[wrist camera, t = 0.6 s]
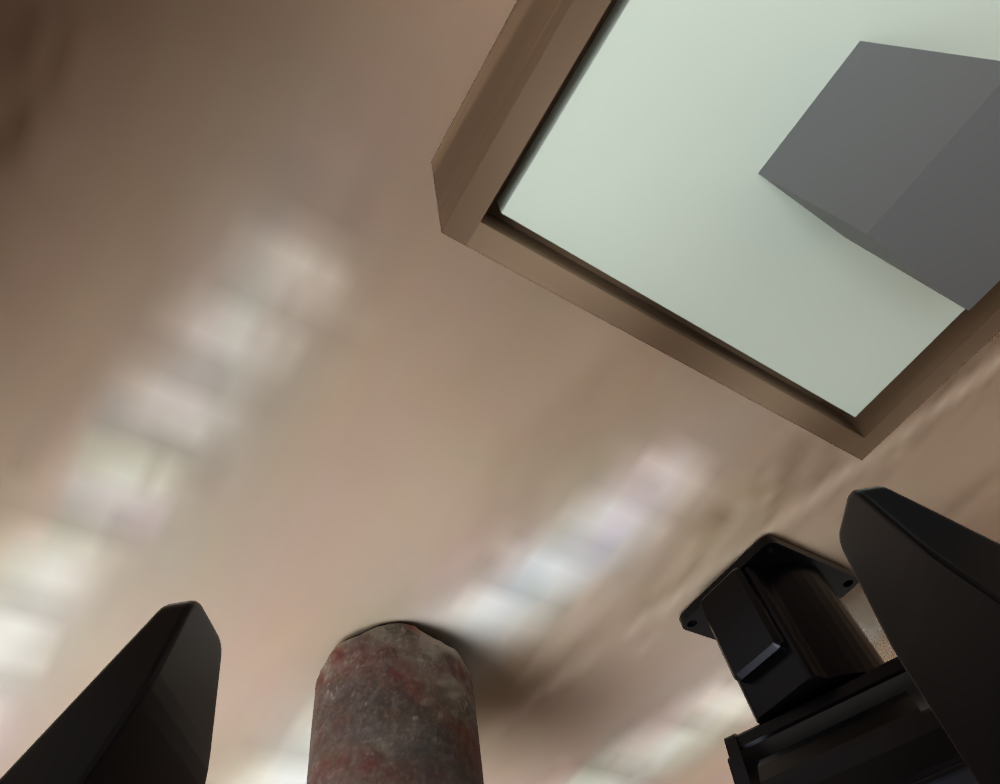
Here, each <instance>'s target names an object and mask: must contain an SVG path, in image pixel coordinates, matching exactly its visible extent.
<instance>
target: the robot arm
mask: <svg viewBox="0 0 1000 784" xmlns="http://www.w3.org/2000/svg"><path fill="white" fill-rule="evenodd" d="M839 536H840V543H841V546H842V549H843V551H844V553H845V555H846V557H847V559H848V561H849V563H850V565H851V567H852V569H853V571H854V573H855V574H854V573H853V572H852V571H851V570H848V569H846V568H844V567H841V566H839V565H837V564H835V563H832V562H830V561H828V560H825V559H823V558H821V557H818V556H816V555H814V554H812V553H809V552H807V551H805V550H802V549H800V548H798V547H796V546H793V545H791V544H789V543H786V542H784V541H782V540H780V539H777V538H775V537H772V536H768V537H764V538H762V539H760V540H759V541H758V542H757V543H756V544H755V545H754V546H753V547H752V548H750V549H749V550H748V551H747V552H746V553H745V554H744V555H743V556H742V557H741V558H740V559H739V560H738V561H737V562H736V563H735V564H734V565H733V566H732V567H731V568H730V569H729V570H727V571H726V572H725V573H724V574H723V575H722V576H721V577H720V578H719V579H718V580H717V581H716V582H715V583H714V584H713V585H712V586H711V587H710V588H709V589H708V590H707V591H706V592H704V593H703V594H702V595H701V596H700V597H699V598H698V599H697V600H696V601H695V602H694V603H693V604H692V605H691V606H690V607H689V608H688V609H687V610H686V611H685V612H684V613H683V614H682V615H681V616H680V618H679V620H680V622H681V625H682V627H683V629H685V630H688V631H691V632H694V633H697V634H700V635H703V636H706V637H709V638H712V639H715V640H716V641H717V643H718V645H719V647H720V649H721V652H722V654H723V656H724V658H725V660H726V662H727V664H728V666H729V669H730V671H731V673H732V675H733V677H734V678H735V680H737V681H738V683H739V685H740V688H741V690H742V692H743V694H744V696H745V698H746V700H747V702H748V704H749V707H750V709H751V711H752V713H753V715H754V717H755V719H756V721H757V723H759V725H757V726H755V727H753V728H751V729H749V730H747V731H745V732H743V733H741V734H738V735H737V734H733V735H731V736H729V737H727V738H725V739H724V741H725V745H726V748H727V751H728V755H729V758H728V763H729V766H730V770H731V773H732V777H733V780H734V783H735V784H1000V544H999V543H997V542H995V541H993V540H991V539H989V538H987V537H985V536H983V535H981V534H978V533H976V532H974V531H972V530H970V529H968V528H966V527H964V526H962V525H960V524H958V523H956V522H954V521H952V520H950V519H948V518H946V517H944V516H942V515H940V514H938V513H936V512H934V511H932V510H930V509H928V508H926V507H924V506H922V505H920V504H918V503H916V502H914V501H912V500H910V499H908V498H906V497H904V496H902V495H900V494H898V493H896V492H894V491H892V490H890V489H887V488H885V487H871V488H865V489H859V490H855V491H852V493H851V494H850V495H849V496H848V499H847V503H846V507H845V511H844V515H843V519H842V523H841V527H840V533H839ZM855 575H856V576H855ZM858 581H859V583H860V585H861V587H862V589H863V591H864V593H865V595H866V597H867V599H868V601H869V603H870V605H871V607H872V609H873V611H874V613H875V615H876V617H877V619H878V621H879V623H880V625H881V627H882V629H883V631H884V633H885V635H886V637H887V638H888V640H889V642H890V644H891V646H892V648H893V650H894V651H895V653H896V654H897V656H898V657H896V658H894V659H892V660H890V661H888V662H886V663H885V662H884V661H883V660H882V658H881V657H880V655H879V654H878V652H877V651H876V650H875V648H874V647H873V645H872V644H871V642H870V641H869V640H868V638H867V637H866V635H865V634H864V632H863V631H862V629H861V628H860V627H859V625H858V624H857V622H856V621H855V619H854V618H853V617H852V615H851V614H850V612H849V611H848V609H847V608H846V607H845V605H844V604H843V602H842V601H841V599H840V598H841V597H843V596H844V595H845V594H846V593H847V592H849V591H850V590H851V589H852V588H853V587H855V585H856V584H857V583H858ZM220 662H221V643H220V639H219V637H218V634H217V633H216V631H215V629H214V627H213V625H212V624H211V622H210V620H209V618H208V616H207V615H206V613H205V611H204V609H203V607H202V606H201V605H200V603H198V602H196V601H186V602H180V603H174V604H168V605H166V606H164V607H162V608H161V609H160V610H159V611H158V612H157V613H156V614H155V615H154V616H153V617H152V618H151V619H150V620H149V621H148V622H147V623H146V625H145V626H144V627H143V628H142V629H141V630H140V631H139V632H138V633H137V634H136V635H135V636H134V637H133V638H132V639H131V640H130V642H129V643H128V644H127V645H126V646H125V647H124V648H123V649H122V650H121V651H120V652H119V653H118V654H117V655H116V656H115V658H114V659H113V660H112V661H111V662H110V663H109V664H108V665H107V666H106V667H105V668H104V669H103V670H102V671H101V672H100V673H99V675H98V676H97V677H96V678H95V679H94V680H93V681H92V682H91V683H90V684H89V685H88V686H87V687H86V688H85V689H84V690H83V692H82V693H81V694H80V695H79V696H78V697H77V698H76V699H75V700H74V701H73V702H72V703H71V704H70V705H69V706H68V707H67V709H66V710H65V711H64V712H63V713H62V714H61V715H60V716H59V717H58V718H57V719H56V720H55V721H54V722H53V723H52V724H51V726H50V727H49V728H48V729H47V730H46V731H45V732H44V733H43V734H42V735H41V736H40V737H39V738H38V739H37V740H36V741H35V743H34V744H33V745H32V746H31V747H30V748H29V749H28V750H27V751H26V752H25V753H24V754H23V755H22V756H21V757H20V758H19V760H18V761H17V762H16V763H15V764H14V765H13V766H12V767H11V768H10V769H9V770H8V771H7V772H6V773H5V774H4V775H3V777H2V778H1V779H0V784H205V782H206V777H207V772H208V765H209V758H210V751H211V742H212V733H213V725H214V716H215V707H216V698H217V689H218V680H219V671H220Z"/></svg>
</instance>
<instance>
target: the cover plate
mask: <svg viewBox="0 0 1000 784" xmlns="http://www.w3.org/2000/svg"><path fill="white" fill-rule="evenodd" d="M497 204H498V206H499V209H500V211H501V213H502V214H504V215H506V216H507V217H509V218H511V219H513V220H514V221H516V222H518V223H520V224H521V225H523V226H525V227H526V228H528V229H530V230H532V231H533V232H535V233H537V234H539V235H540V236H542V237H544V238H545V239H547V240H549V241H551V242H552V243H554V244H556V245H558V246H559V247H561V248H563V249H565V250H566V251H568V252H570V253H571V254H573V255H575V256H577V257H578V258H580V259H582V260H584V261H585V262H587V263H589V264H591V265H592V266H594V267H596V268H597V269H599V270H601V271H603V272H604V273H606V274H608V275H610V276H611V277H613V278H615V279H616V280H618V281H620V282H622V283H623V284H625V285H627V286H629V287H630V288H632V289H634V290H636V291H637V292H639V293H641V294H642V295H644V296H646V297H648V298H649V299H651V300H653V301H655V302H656V303H658V304H660V305H662V306H663V307H665V308H667V309H668V310H670V311H672V312H674V313H675V314H677V315H679V316H681V317H682V318H684V319H686V320H687V321H689V322H691V323H693V324H694V325H696V326H698V327H700V328H701V329H703V330H705V331H707V332H708V333H710V334H712V335H713V336H715V337H717V338H719V339H720V340H722V341H724V342H726V343H727V344H729V345H731V346H733V347H734V348H736V349H738V350H739V351H741V352H743V353H745V354H746V355H748V356H750V357H752V358H753V359H755V360H757V361H759V362H760V363H762V364H764V365H765V366H767V367H769V368H771V369H772V370H774V371H776V372H778V373H779V374H781V375H783V376H784V377H786V378H788V379H790V380H791V381H793V382H795V383H797V384H798V385H800V386H802V387H804V388H805V389H807V390H809V391H810V392H812V393H814V394H816V395H817V396H819V397H821V398H823V399H824V400H826V401H828V402H830V403H831V404H833V405H835V406H836V407H838V408H840V409H842V410H843V411H845V412H847V413H849V414H850V415H852V416H854V417H856V416H857V415H858V414H859V413H860V412H861V411H862V410H863V409H864V408H865V407H866V406H867V405H868V404H869V403H870V402H871V401H872V400H873V399H874V398H875V397H876V396H877V395H878V394H879V393H880V392H881V391H882V390H883V389H884V388H885V387H886V386H887V385H888V384H889V383H890V382H891V381H892V380H893V379H894V378H895V377H897V376H898V375H899V374H900V373H901V372H902V371H903V370H904V369H905V368H906V367H907V366H908V365H909V364H910V363H911V362H912V361H913V360H914V359H915V358H916V357H917V356H918V355H919V354H920V353H921V352H922V351H923V350H924V349H925V348H926V347H927V346H928V345H929V344H930V343H931V342H932V341H933V340H934V339H935V338H936V337H937V336H938V335H939V334H940V333H941V332H942V331H943V330H944V329H945V328H946V327H947V326H948V325H949V324H950V323H951V322H952V321H953V320H954V319H956V318H957V317H958V316H959V315H960V314H961V313H962V312H963V311H964V310H965V309H966V310H968V311H969V310H970V309H971V308H972V307H973V306H974V305H975V304H976V303H977V302H978V301H979V300H980V299H981V298H982V297H983V296H984V295H985V294H986V293H987V292H988V291H990V290H991V289H992V288H993V287H994V286H995V285H996V284H997V283H998V282H999V281H1000V0H617V2H616V3H615V5H614V7H613V8H612V10H611V12H610V13H609V15H608V17H607V18H606V20H605V22H604V23H603V25H602V27H601V28H600V30H599V32H598V33H597V35H596V37H595V38H594V40H593V42H592V43H591V45H590V47H589V48H588V50H587V52H586V54H585V55H584V57H583V59H582V60H581V62H580V64H579V65H578V67H577V69H576V70H575V72H574V74H573V75H572V77H571V79H570V80H569V82H568V84H567V85H566V87H565V89H564V90H563V92H562V94H561V95H560V97H559V99H558V100H557V102H556V104H555V106H554V107H553V109H552V111H551V112H550V114H549V116H548V117H547V119H546V121H545V122H544V124H543V126H542V127H541V129H540V131H539V132H538V134H537V136H536V137H535V139H534V141H533V142H532V144H531V146H530V147H529V149H528V151H527V153H526V154H525V156H524V158H523V159H522V161H521V163H520V164H519V166H518V168H517V169H516V171H515V173H514V174H513V176H512V178H511V179H510V181H509V183H508V184H507V186H506V188H505V189H504V191H503V193H502V194H501V196H500V198H499V199H498V201H497Z"/></svg>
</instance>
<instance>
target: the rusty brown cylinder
mask: <svg viewBox="0 0 1000 784" xmlns="http://www.w3.org/2000/svg"><path fill="white" fill-rule="evenodd" d="M307 784H484V782H483V772H482V763H481V754H480V744H479V735H478V726H477V719H476V711H475V703H474V695H473V688H472V680H471V675H470V673H469V671H468V669H467V667H466V665H465V664H464V662H463V660H462V658H461V657H460V655H459V654H458V652H457V651H456V650H455V649H453V648H452V647H449V646H447V645H445V644H444V643H443V642H441V641H439V640H436V639H434V638H432V637H431V636H429V635H427V634H425V633H424V632H422V631H420V630H419V629H418V628H417V627H416V626H413V625H408V624H402V623H394V624H387V625H384V626H378V627H375V628H373V629H371V630H369V631H365V632H364V633H363V634H361V635H359V636H356V637H353V638H351V639H348V640H346V641H344V642H342V643H340V644H339V645H337V646H336V648H335V649H334V650H333V651H332V653H331V654H330V656H329V658H328V660H327V662H326V663H325V665H324V667H323V668H322V669H321V671H320V674H319V677H318V679H317V682H316V688H315V701H314V710H313V719H312V729H311V740H310V753H309V764H308V775H307Z"/></svg>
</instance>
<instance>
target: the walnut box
mask: <svg viewBox="0 0 1000 784" xmlns="http://www.w3.org/2000/svg"><path fill="white" fill-rule="evenodd" d="M616 2H617V0H517V2H516V4H515V6H514V8H513V10H512V11H511V13H510V15H509V17H508V19H507V21H506V23H505V25H504V26H503V28H502V30H501V32H500V34H499V36H498V38H497V40H496V41H495V43H494V45H493V47H492V49H491V51H490V53H489V55H488V56H487V58H486V60H485V62H484V64H483V66H482V68H481V70H480V72H479V73H478V75H477V77H476V79H475V81H474V83H473V85H472V87H471V88H470V90H469V92H468V94H467V96H466V98H465V100H464V102H463V103H462V105H461V107H460V109H459V111H458V113H457V115H456V117H455V118H454V120H453V122H452V124H451V126H450V128H449V130H448V132H447V133H446V135H445V137H444V139H443V141H442V143H441V145H440V147H439V148H438V150H437V152H436V154H435V156H434V158H433V160H432V169H433V176H434V183H435V190H436V197H437V204H438V211H439V218H440V225H441V232H442V233H443V234H445V235H447V236H449V237H451V238H453V239H454V240H456V241H458V242H460V243H462V244H464V245H465V246H467V247H469V248H471V249H473V250H475V251H477V252H478V253H480V254H482V255H484V256H486V257H488V258H489V259H491V260H493V261H495V262H497V263H499V264H501V265H502V266H504V267H506V268H508V269H510V270H512V271H513V272H515V273H517V274H519V275H521V276H523V277H525V278H526V279H528V280H530V281H532V282H534V283H536V284H537V285H539V286H541V287H543V288H545V289H547V290H549V291H550V292H552V293H554V294H556V295H558V296H560V297H561V298H563V299H565V300H567V301H569V302H571V303H573V304H574V305H576V306H578V307H580V308H582V309H584V310H585V311H587V312H589V313H591V314H593V315H595V316H597V317H598V318H600V319H602V320H604V321H606V322H608V323H609V324H611V325H613V326H615V327H617V328H619V329H621V330H622V331H624V332H626V333H628V334H630V335H632V336H633V337H635V338H637V339H639V340H641V341H643V342H645V343H646V344H648V345H650V346H652V347H654V348H656V349H657V350H659V351H661V352H663V353H665V354H667V355H669V356H670V357H672V358H674V359H676V360H678V361H680V362H681V363H683V364H685V365H687V366H689V367H691V368H693V369H694V370H696V371H698V372H700V373H702V374H704V375H705V376H707V377H709V378H711V379H713V380H715V381H717V382H718V383H720V384H722V385H724V386H726V387H728V388H729V389H731V390H733V391H735V392H737V393H739V394H741V395H742V396H744V397H746V398H748V399H750V400H752V401H753V402H755V403H757V404H759V405H761V406H763V407H765V408H766V409H768V410H770V411H772V412H774V413H776V414H777V415H779V416H781V417H783V418H785V419H787V420H789V421H790V422H792V423H794V424H796V425H798V426H800V427H801V428H803V429H805V430H807V431H809V432H811V433H813V434H814V435H816V436H818V437H820V438H822V439H824V440H825V441H827V442H829V443H831V444H833V445H835V446H837V447H838V448H840V449H842V450H844V451H846V452H848V453H849V454H851V455H853V456H855V457H857V458H859V459H861V460H863V459H864V458H865V457H866V456H867V455H868V454H869V453H870V452H871V451H872V450H873V449H874V448H875V447H876V446H878V445H879V444H880V443H881V442H882V441H883V440H884V439H885V438H886V437H887V436H888V435H889V434H890V433H891V432H892V431H893V430H895V429H896V428H897V427H898V426H899V425H900V424H901V423H902V422H903V421H904V420H905V419H906V418H907V417H908V416H909V415H910V414H912V413H913V412H914V411H915V410H916V409H917V408H918V407H919V406H920V405H921V404H922V403H923V402H924V401H925V400H926V399H927V398H929V397H930V396H931V395H932V394H933V393H934V392H935V391H936V390H937V389H938V388H939V387H940V386H941V385H942V384H943V383H945V382H946V381H947V380H948V379H949V378H950V377H951V376H952V375H953V374H954V373H955V372H956V371H957V370H958V369H959V368H960V367H962V366H963V365H964V364H965V363H966V362H967V361H968V360H969V359H970V358H971V357H972V356H973V355H974V354H975V353H976V352H977V351H979V350H980V349H981V348H982V347H983V346H984V345H985V344H986V343H987V342H988V341H989V340H990V339H991V338H992V337H993V336H994V335H996V334H997V333H998V332H999V331H1000V281H999V282H998V283H997V284H996V285H995V286H994V287H993V288H992V289H991V290H990V291H988V292H987V293H986V294H985V295H984V296H983V297H982V298H981V299H980V300H979V301H978V302H977V303H976V304H975V305H974V306H973V307H972V308H971V309H970V310H969V311H968V310H966V309H965V310H964V311H963V312H962V313H961V314H960V315H959V316H958V317H957V318H956V319H954V320H953V321H952V322H951V323H950V324H949V325H948V326H947V327H946V328H945V329H944V330H943V331H942V332H941V333H940V334H939V335H938V336H937V337H936V338H935V339H934V340H933V341H932V342H931V343H930V344H929V345H928V346H927V347H926V348H925V349H924V350H923V351H922V352H921V353H920V354H919V355H918V356H917V357H916V358H915V359H914V360H913V361H912V362H911V363H910V364H909V365H908V366H907V367H906V368H905V369H904V370H903V371H902V372H901V373H900V374H899V375H898V376H897V377H895V378H894V379H893V380H892V381H891V382H890V383H889V384H888V385H887V386H886V387H885V388H884V389H883V390H882V391H881V392H880V393H879V394H878V395H877V396H876V397H875V398H874V399H873V400H872V401H871V402H870V403H869V404H868V405H867V406H866V407H865V408H864V409H863V410H862V411H861V412H860V413H859V414H858V415H857V416H856V417H854V416H852V415H850V414H849V413H847V412H845V411H843V410H842V409H840V408H838V407H836V406H835V405H833V404H831V403H830V402H828V401H826V400H824V399H823V398H821V397H819V396H817V395H816V394H814V393H812V392H810V391H809V390H807V389H805V388H804V387H802V386H800V385H798V384H797V383H795V382H793V381H791V380H790V379H788V378H786V377H784V376H783V375H781V374H779V373H778V372H776V371H774V370H772V369H771V368H769V367H767V366H765V365H764V364H762V363H760V362H759V361H757V360H755V359H753V358H752V357H750V356H748V355H746V354H745V353H743V352H741V351H739V350H738V349H736V348H734V347H733V346H731V345H729V344H727V343H726V342H724V341H722V340H720V339H719V338H717V337H715V336H713V335H712V334H710V333H708V332H707V331H705V330H703V329H701V328H700V327H698V326H696V325H694V324H693V323H691V322H689V321H687V320H686V319H684V318H682V317H681V316H679V315H677V314H675V313H674V312H672V311H670V310H668V309H667V308H665V307H663V306H662V305H660V304H658V303H656V302H655V301H653V300H651V299H649V298H648V297H646V296H644V295H642V294H641V293H639V292H637V291H636V290H634V289H632V288H630V287H629V286H627V285H625V284H623V283H622V282H620V281H618V280H616V279H615V278H613V277H611V276H610V275H608V274H606V273H604V272H603V271H601V270H599V269H597V268H596V267H594V266H592V265H591V264H589V263H587V262H585V261H584V260H582V259H580V258H578V257H577V256H575V255H573V254H571V253H570V252H568V251H566V250H565V249H563V248H561V247H559V246H558V245H556V244H554V243H552V242H551V241H549V240H547V239H545V238H544V237H542V236H540V235H539V234H537V233H535V232H533V231H532V230H530V229H528V228H526V227H525V226H523V225H521V224H520V223H518V222H516V221H514V220H513V219H511V218H509V217H507V216H506V215H504V214H502V213H501V211H500V209H499V206H498V204H497V201H498V199H499V198H500V196H501V194H502V193H503V191H504V189H505V188H506V186H507V184H508V183H509V181H510V179H511V178H512V176H513V174H514V173H515V171H516V169H517V168H518V166H519V164H520V163H521V161H522V159H523V158H524V156H525V154H526V153H527V151H528V149H529V147H530V146H531V144H532V142H533V141H534V139H535V137H536V136H537V134H538V132H539V131H540V129H541V127H542V126H543V124H544V122H545V121H546V119H547V117H548V116H549V114H550V112H551V111H552V109H553V107H554V106H555V104H556V102H557V100H558V99H559V97H560V95H561V94H562V92H563V90H564V89H565V87H566V85H567V84H568V82H569V80H570V79H571V77H572V75H573V74H574V72H575V70H576V69H577V67H578V65H579V64H580V62H581V60H582V59H583V57H584V55H585V54H586V52H587V50H588V48H589V47H590V45H591V43H592V42H593V40H594V38H595V37H596V35H597V33H598V32H599V30H600V28H601V27H602V25H603V23H604V22H605V20H606V18H607V17H608V15H609V13H610V12H611V10H612V8H613V7H614V5H615V3H616Z"/></svg>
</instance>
